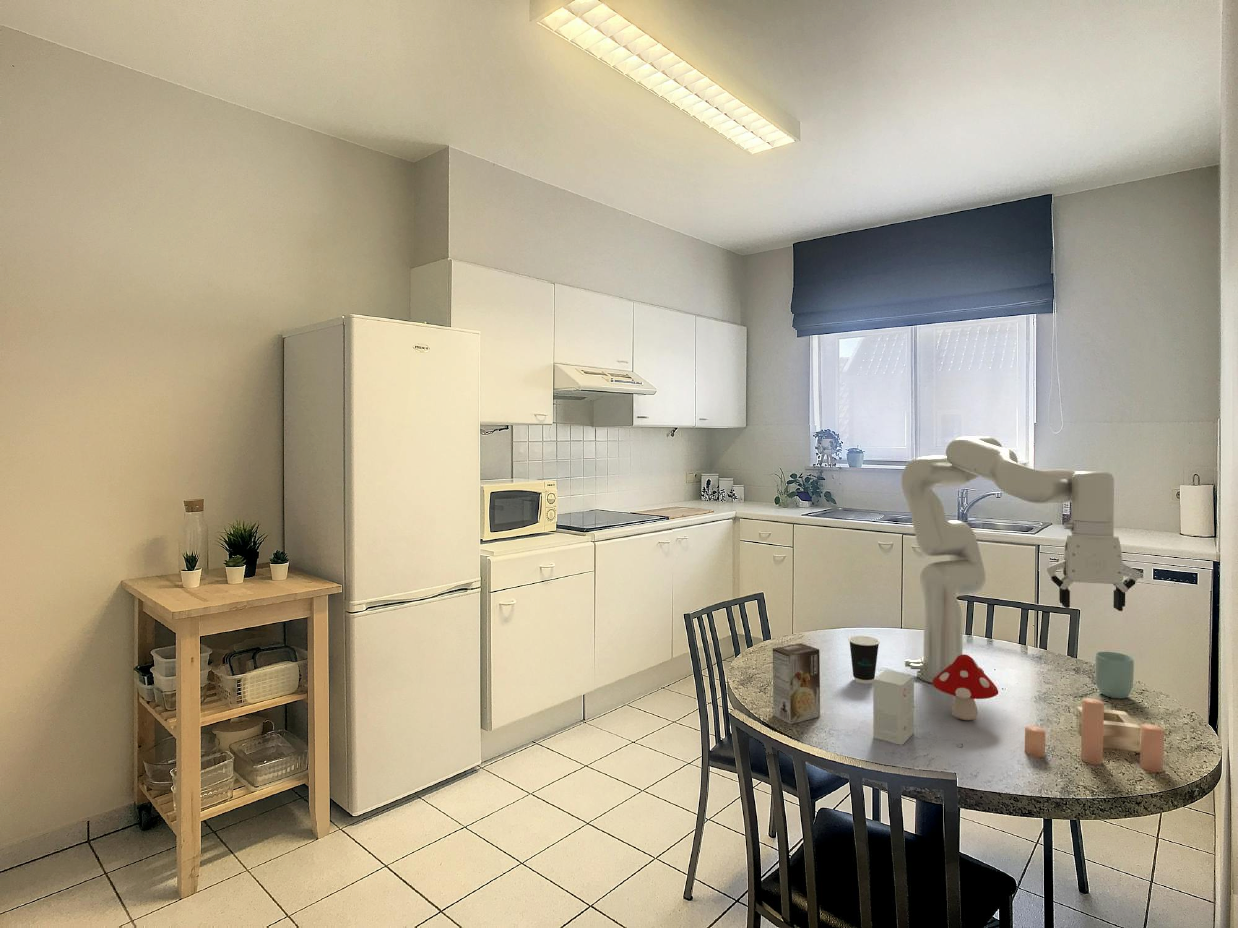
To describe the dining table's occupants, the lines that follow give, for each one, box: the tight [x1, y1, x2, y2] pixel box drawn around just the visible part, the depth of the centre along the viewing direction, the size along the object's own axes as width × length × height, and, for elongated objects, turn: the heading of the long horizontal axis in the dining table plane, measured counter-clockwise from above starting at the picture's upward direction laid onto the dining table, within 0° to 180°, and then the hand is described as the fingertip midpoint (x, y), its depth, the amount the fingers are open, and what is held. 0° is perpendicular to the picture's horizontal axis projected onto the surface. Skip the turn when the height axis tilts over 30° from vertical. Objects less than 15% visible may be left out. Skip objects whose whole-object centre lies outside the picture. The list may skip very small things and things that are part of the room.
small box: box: [872, 669, 915, 746], centre depth 150 cm, size 8×6×13 cm
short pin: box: [1024, 725, 1046, 759], centre depth 142 cm, size 4×4×5 cm
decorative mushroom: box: [931, 654, 999, 721], centre depth 159 cm, size 14×14×15 cm
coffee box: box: [772, 642, 821, 725], centre depth 161 cm, size 9×6×16 cm
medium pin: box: [1139, 723, 1165, 773], centre depth 135 cm, size 4×4×8 cm
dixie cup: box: [848, 635, 881, 685], centre depth 184 cm, size 8×8×11 cm
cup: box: [1094, 651, 1135, 699], centre depth 172 cm, size 8×8×10 cm
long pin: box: [1080, 697, 1105, 766], centre depth 138 cm, size 4×4×12 cm
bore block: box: [1075, 706, 1141, 753], centre depth 148 cm, size 9×9×5 cm
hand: (1091, 608), depth 148 cm, fingers open, 9 cm apart
